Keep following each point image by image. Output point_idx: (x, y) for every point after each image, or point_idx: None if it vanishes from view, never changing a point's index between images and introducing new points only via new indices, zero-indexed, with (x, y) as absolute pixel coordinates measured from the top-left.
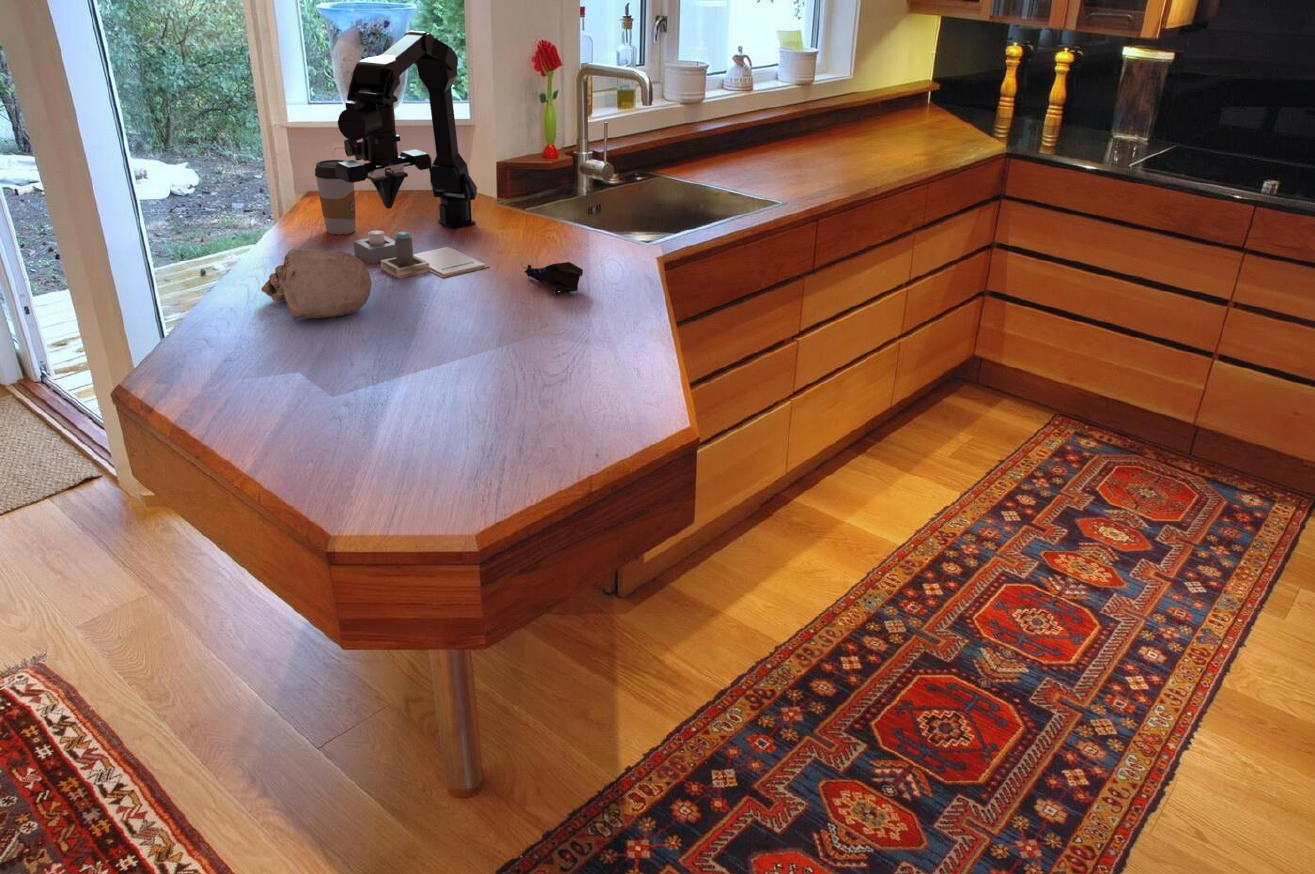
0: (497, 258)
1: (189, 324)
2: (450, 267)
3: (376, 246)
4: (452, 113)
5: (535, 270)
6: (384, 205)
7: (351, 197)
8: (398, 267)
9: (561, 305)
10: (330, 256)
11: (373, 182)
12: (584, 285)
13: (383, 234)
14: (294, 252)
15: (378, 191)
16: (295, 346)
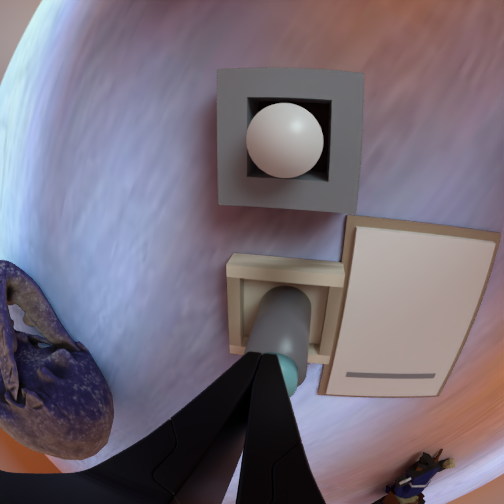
0: (494, 361)
1: None
2: (370, 376)
3: (257, 186)
4: None
5: (411, 480)
6: (240, 359)
7: None
8: (239, 341)
9: (356, 500)
10: (31, 449)
11: (92, 480)
12: (435, 480)
13: (307, 170)
14: None
15: (166, 432)
16: None
